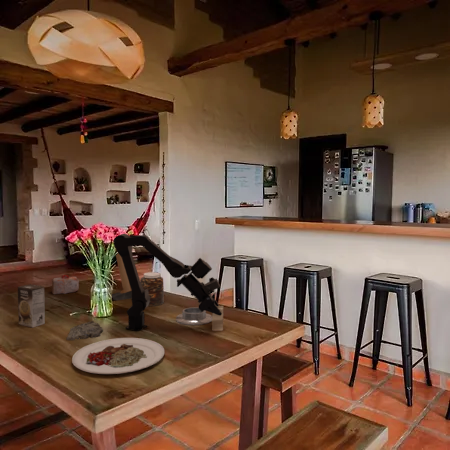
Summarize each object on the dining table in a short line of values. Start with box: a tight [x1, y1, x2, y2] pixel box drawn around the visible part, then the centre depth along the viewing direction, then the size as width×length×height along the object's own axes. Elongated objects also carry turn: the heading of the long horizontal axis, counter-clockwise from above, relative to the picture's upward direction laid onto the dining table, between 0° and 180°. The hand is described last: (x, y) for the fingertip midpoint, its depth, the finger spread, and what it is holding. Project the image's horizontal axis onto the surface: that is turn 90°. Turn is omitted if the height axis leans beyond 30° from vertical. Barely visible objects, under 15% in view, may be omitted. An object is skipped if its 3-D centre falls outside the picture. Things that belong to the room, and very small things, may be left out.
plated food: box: [71, 337, 165, 375], centre depth 137 cm, size 30×30×3 cm
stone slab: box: [65, 320, 104, 341], centre depth 162 cm, size 13×17×3 cm
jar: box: [140, 271, 165, 307], centre depth 206 cm, size 12×12×15 cm
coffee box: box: [17, 283, 46, 328], centre depth 171 cm, size 9×6×16 cm
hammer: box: [111, 254, 132, 301], centre depth 214 cm, size 20×5×30 cm, turn 121°
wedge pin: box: [211, 305, 224, 331], centre depth 167 cm, size 4×4×9 cm
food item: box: [51, 274, 80, 295], centre depth 227 cm, size 14×8×10 cm, turn 121°
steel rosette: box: [175, 306, 212, 326], centre depth 179 cm, size 16×16×4 cm
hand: (221, 313), depth 167 cm, fingers closed on wedge pin, 4 cm apart
